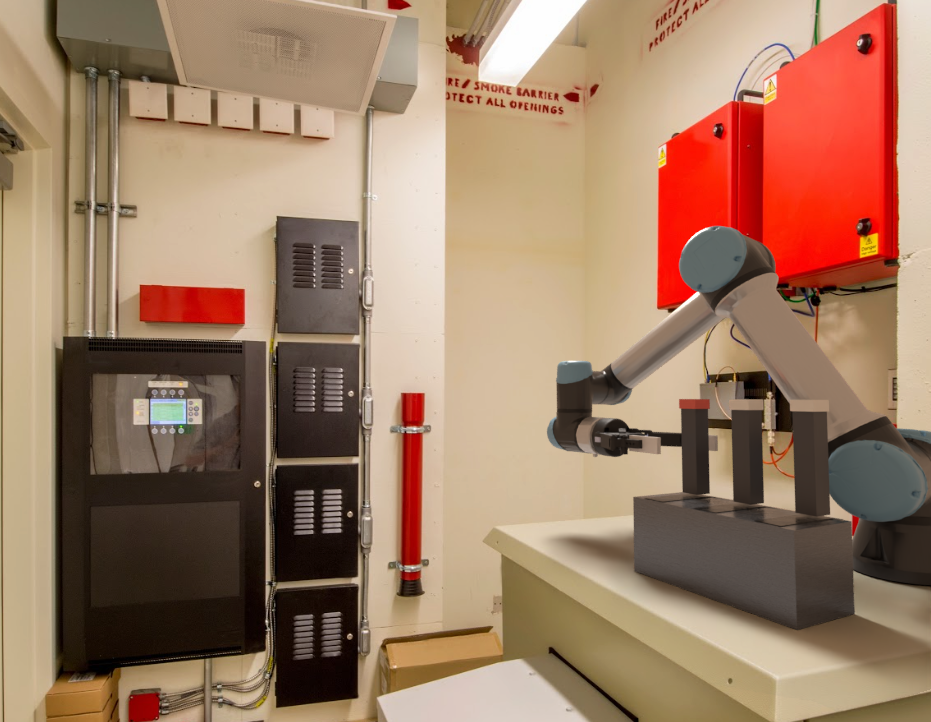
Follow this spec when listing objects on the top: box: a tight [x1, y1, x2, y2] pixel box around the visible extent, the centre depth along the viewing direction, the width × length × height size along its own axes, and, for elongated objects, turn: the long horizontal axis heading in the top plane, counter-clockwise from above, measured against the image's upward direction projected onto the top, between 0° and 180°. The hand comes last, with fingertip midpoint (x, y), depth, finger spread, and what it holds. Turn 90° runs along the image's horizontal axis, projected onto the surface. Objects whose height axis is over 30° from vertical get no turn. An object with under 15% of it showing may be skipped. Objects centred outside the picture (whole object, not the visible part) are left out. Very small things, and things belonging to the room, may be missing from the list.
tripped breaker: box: [678, 398, 711, 495], centre depth 101 cm, size 3×3×16 cm
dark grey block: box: [632, 491, 856, 631], centre depth 89 cm, size 28×12×12 cm, turn 28°
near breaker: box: [789, 400, 831, 517], centre depth 83 cm, size 3×3×16 cm
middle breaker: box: [728, 398, 765, 505], centre depth 92 cm, size 3×3×16 cm
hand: (688, 444), depth 102 cm, fingers open, 13 cm apart
